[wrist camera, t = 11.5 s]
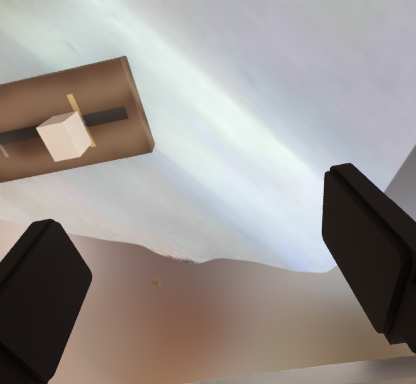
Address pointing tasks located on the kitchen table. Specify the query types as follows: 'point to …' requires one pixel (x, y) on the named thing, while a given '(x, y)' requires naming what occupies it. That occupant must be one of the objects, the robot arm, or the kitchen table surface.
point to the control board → (66, 103)
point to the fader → (65, 136)
